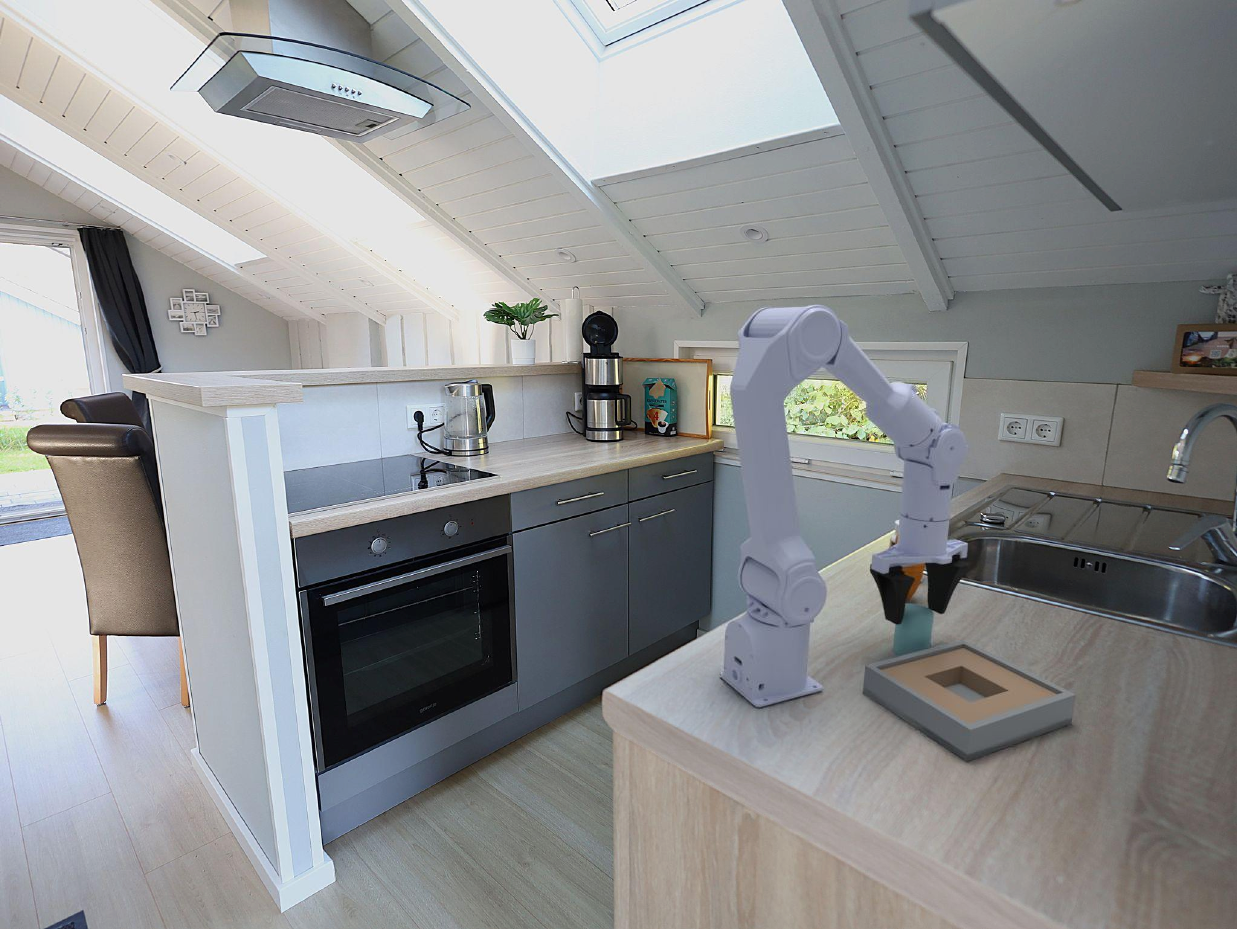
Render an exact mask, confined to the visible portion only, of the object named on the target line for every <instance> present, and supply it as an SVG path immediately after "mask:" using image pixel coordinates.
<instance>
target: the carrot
mask: <svg viewBox="0 0 1237 929" xmlns="http://www.w3.org/2000/svg"><path fill="white" fill-rule="evenodd" d="M897 542H898V533H897V536H896V539H895V545H896V544H897ZM925 569H926V565H925V563H923V564H917V565H912V566H907V567H903V569H902V571H905V574H906V575H908V576H910V577H913V578H915V581H914V583H913V584H912V586H911V588H910V590H909V593H908V596H907V599H906V602H908V601H910V600H911V599H912V598H913V596H914V595H915V593H916V592H917V590H918V588H919V586H920V585H921V582H922V581H921V578H922V575H923V576H924V571H925ZM920 581H921V582H920Z"/></svg>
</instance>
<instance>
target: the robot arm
mask: <svg viewBox="0 0 1237 929" xmlns="http://www.w3.org/2000/svg"><path fill="white" fill-rule="evenodd" d="M849 332H850V330H849V325H848V324H847V323H845V322H844V321H843V320H841V319H840V318H838V316H837V315H836V314H835V312H834V311H833V310H832V309H830V308H829V307H827V306H825V305H822V304H813V305H812V304H811V305H810V304H809V305H807V306H792V307H791V306H789V307H776V306H766V307H762V308H759V309H758V310H756V311H755V312H753V314H751V316H750V317H749V318H748V320H746V322H745V323H744V324H743V326H742V327H741V328H740V329H739V330H738V332H737V341H738V348H739V351H738V354H737V358H736V362H735V366H734V371H733V372H732V373H733V374H732V378H731V381H730V387H729V396H730V401H731V402H730V403H731V410H732V417H733V423H734V428H735V429H734V430H735V436H736V437H735V438H736V443H737V451H738V457H739V458H738V459H739V464H740V470H741V477H742V484H743V491H744V497H745V498H744V499H745V505H746V511H747V512H746V513H747V519H748V525H749V527H748V528H749V531H750V532H749V533H750V537H749V538H748V539H747V540H746V541H744V542H743V543H742V544H741V545H740V556H741V559H740V563H739V567H738V570H737V571H738V572H737V581H738V585H739V587H740V589H741V590H742V592H743V593H744V594H746V603H745V604H746V605H747V611H746V612H745V613H744V614H743V615H742V616H740V617H738V618H736V619H734V620H732V621H730V622H729V623H727V626H726V628H725V631H724V632H725V633H724V647H723V648H724V649H723V650H724V653H723V670H722V671H720V672H719V676H720V677H721V679H723V680H724V681H725V682H726V683H727V684H729V685H730V686H731V687H732V688H734V689H735V691H737V692H738V693H740V695H741V696H743V697H744V698H745V699H746V700H747V701H748V702H749V703H751V704H752V705H753V706H755V707H757V708H762V707H766V706H770V705H773V704H777V703H780V702H784V701H788V700H791V699H795V698H798V697H802V696H806V695H809V694H814V693H817V692H821V691H823V685H822V684H821V683H820V682H818V681H817V680H815V679H814V678H812V677H811V676H809V675H808V666H809V665H808V664H809V652H810V651H809V649H810V634H811V632H810V631H811V624H813V623H814V622H815V619H816V618H817V617H818V615H819V614H821V612H822V610H823V608H824V606H825V604H826V601H827V592H828V590H827V589H828V588H827V585H826V584H827V583H826V582H825V580H824V578H823V577H822V576H821V575H820V572H819V571H818V567H817V560H816V558H815V556H814V554H813V553H812V551H811V549H810V548H809V547H808V545H807V544H806V542H805V541H804V540H803V537H802V536H801V532H800V524H799V516H798V508H797V500H796V493H795V484H794V475H793V468H792V466H793V465H792V459H791V452H790V444H789V443H790V442H789V437H788V436H789V435H788V426H787V420H786V412H785V405H784V404H785V400H786V398H787V397H788V396H789V395H790V394H791V392H792V391H793V390H794V389H795V388H797V387H798V386H799V385H800V384H802V383H803V382H804V381H805V380H807V379H808V378H810V377H811V376H812V375H814V373H816V372H817V371H819V370H820V369H822V368H823V369H825V370H826V371H827V372H829V374H831V375H832V376H833V377H834V378H835V379H837V381H839V382H840V383H841V384H843V385H844V386H845V387H846V388H848V389H849V391H850V390H851V392H853V393H854V394H855V395H856V396H857V397H858V398H860V399H861V400H862V401H863V402H865V403H866V404H865V415H866V418H867V419H868V420H869V421H870V422H871V423H872V424H874V426H876V427H877V429H879V431H881V432H882V434H884V435H885V436H886V437H888V438H889V439H890V441H891V442H893V449H894V453H895V456H896V457H897V458H898V459H900V460H902V461H903V472H902V485H901V486H902V487H901V497H900V508H899V509H900V510H899V519H898V520H899V530H898V542H897V544H896V545H894V546H892V547H890V548H889V547H888V548H886V549H884V550H882V551H880V552H878V553H872V554H871V563H870V564H869V573H870V574H871V577H872V578H873V580H874V582H875V584H876V587H877V589H878V593H879V596H880V598H881V603H882V609H883V613H884V619H885V620H887V621H889V622H890V623H892V624H894V625H895V624H896V625H899V624H901V623H902V620H903V616H904V610H905V604H907V601H906V599H907V596H908V593H909V590H910V588H911V586H912V584H913V583H914V581H915V578H913V577H910V576H908V575H906V574H905V571H902V569H903V567H907V566H912V565H917V564H923V563H925V570H926V576H927V597H926V599H927V600H926V601H927V608H929V609H931V610H932V611H933V612H934V613H937V614H939V615H944V614H945V612H946V611H947V609H948V606H949V603H950V601H951V598H952V596H953V594H954V593H955V590H956V588H957V586H958V585H959V583H960V581H961V580H962V579H963V577H965V575H966V574H967V573H968V572H969V570H970V563H969V562H968V561H965V560H962V559H966V558H967V557H968V549H969V548H968V546H969V543H968V542H964V541H962V540H958V539H948V535H949V526H950V518H951V516H950V515H951V510H952V509H951V508H952V496H953V487H954V484H955V483H957V480H958V479H959V473H960V469H961V466H962V464H964V462H965V461H966V458H967V456H968V453H969V449H970V445H967V438H966V436H965V434H964V433H963V431H962V430H961V429H960V427H959V426H957V425H956V424H953V423H948V422H947V423H946V422H944V421H943V420H942V419H941V417H940V416H939V415H940V414H939V411H937V409H935V408H931V407H930V406H928V404H927V403H926V402H925V401H924V400H923V399H922V397H921V398H920V397H919V396H918V394H917V392H918V391H919V390H918V388H917V387H916V386H915V385H914V384H913V383H905V382H901V381H892V382H890V381H889V380H888V378H887V377H886V376H884V374H883V373H882V372H881V370H879V368H878V367H877V366H876V365H875V364H874V363H873V361H872V360H871V359H870V358H869V357H868V355H867V354H866V353H865V352H864V351H863V350H862V349H861V348H860V347H859V345H858V344H857V342H855V341H854V340H853V338H852V337H851V335H850V333H849Z"/></svg>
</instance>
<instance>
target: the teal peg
mask: <svg viewBox="0 0 1237 929" xmlns="http://www.w3.org/2000/svg"><path fill="white" fill-rule="evenodd" d="M934 613H935V611H933V610H931V609H929V608H928V606H924V605H920V604H916V603H906V604H905V610H904V616H903V620H902V623H901V624H899V625H896V624H894V634H893V635H894V636H893V645H892V646H893V647H892V652H893V653H894V654H895V655H896V657H898V656H902V655H906V654H910V653H914V652H918V651H922V650H925V649H929V648H931V644H932V643H931V642H932V634H933V633H932V632H933V625H934V624H933V623H934V615H935V614H934Z"/></svg>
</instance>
